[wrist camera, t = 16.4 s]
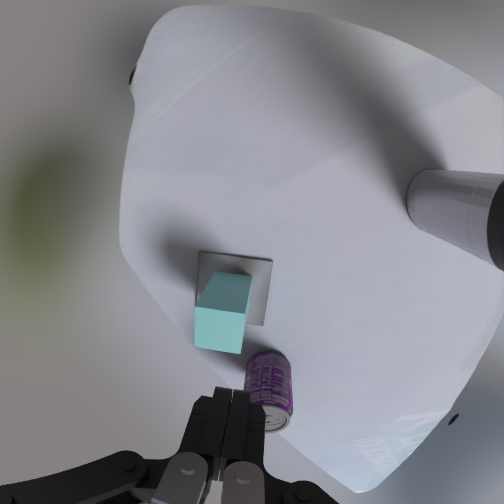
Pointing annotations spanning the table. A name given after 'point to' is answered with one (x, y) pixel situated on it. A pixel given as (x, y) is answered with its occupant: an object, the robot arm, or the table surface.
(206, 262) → the post
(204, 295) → the tall teal block
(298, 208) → the table surface
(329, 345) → the table surface
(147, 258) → the table surface
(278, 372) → the beverage can
